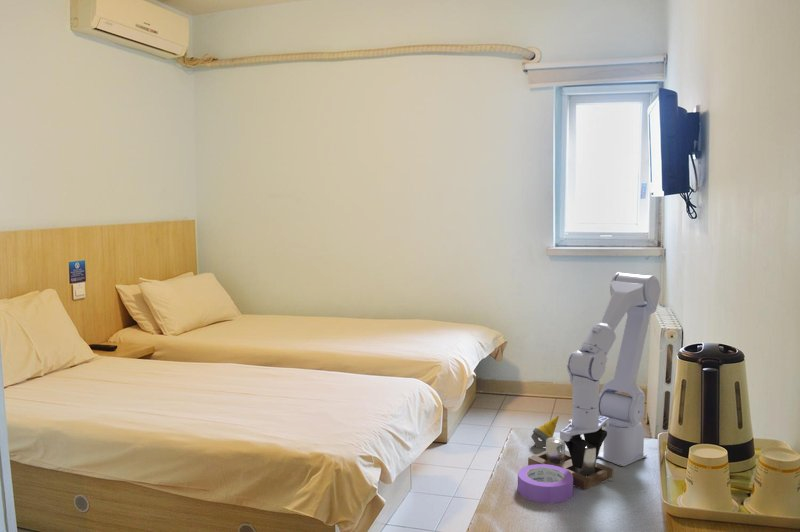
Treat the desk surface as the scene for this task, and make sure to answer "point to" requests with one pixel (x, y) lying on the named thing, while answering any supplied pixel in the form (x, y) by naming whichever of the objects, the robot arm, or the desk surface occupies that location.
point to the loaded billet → (555, 450)
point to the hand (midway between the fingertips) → (584, 463)
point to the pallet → (578, 479)
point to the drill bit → (544, 432)
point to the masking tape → (545, 483)
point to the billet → (588, 461)
